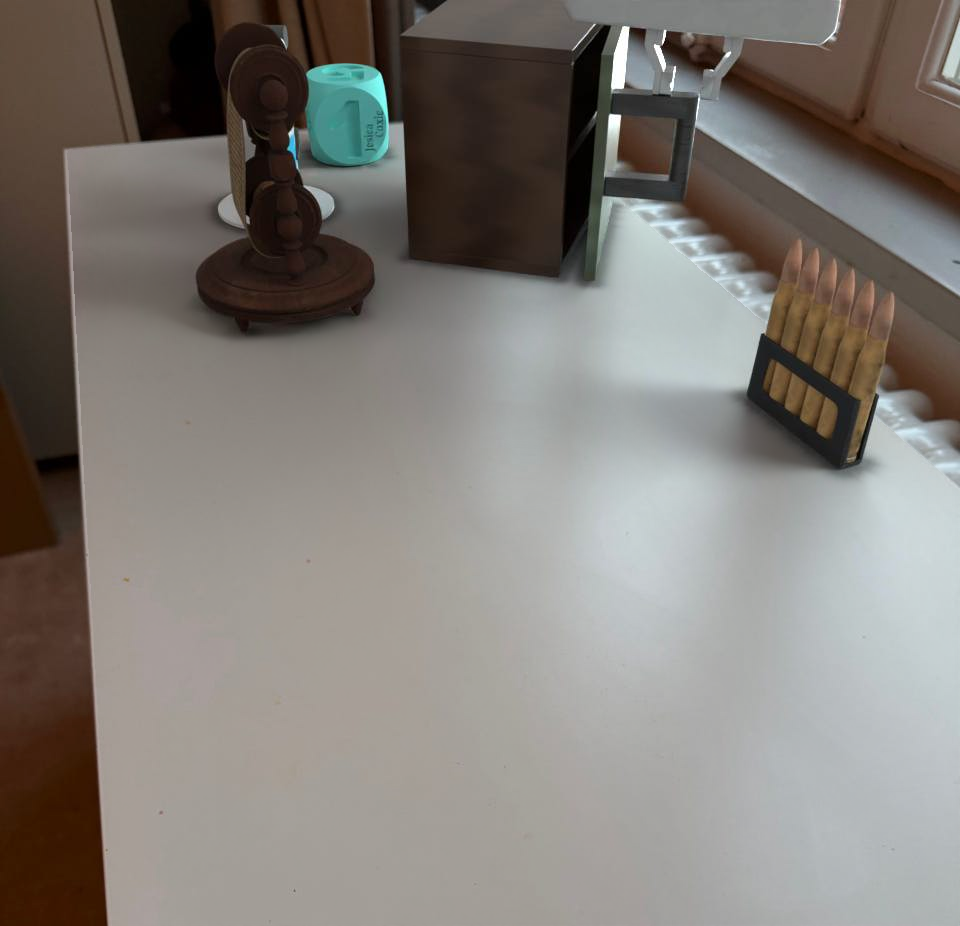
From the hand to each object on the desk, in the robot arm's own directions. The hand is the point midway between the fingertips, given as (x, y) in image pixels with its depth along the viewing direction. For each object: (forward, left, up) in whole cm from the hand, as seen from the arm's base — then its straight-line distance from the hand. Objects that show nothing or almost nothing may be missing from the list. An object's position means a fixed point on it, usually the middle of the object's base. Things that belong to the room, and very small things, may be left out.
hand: (684, 95), depth 81 cm
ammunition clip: (-3, +26, -15) cm, 30 cm away
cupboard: (+12, -12, -15) cm, 22 cm away
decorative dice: (+26, -35, -15) cm, 46 cm away
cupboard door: (0, -7, -15) cm, 16 cm away
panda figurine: (+34, -20, -15) cm, 42 cm away
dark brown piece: (+33, 0, -15) cm, 36 cm away
